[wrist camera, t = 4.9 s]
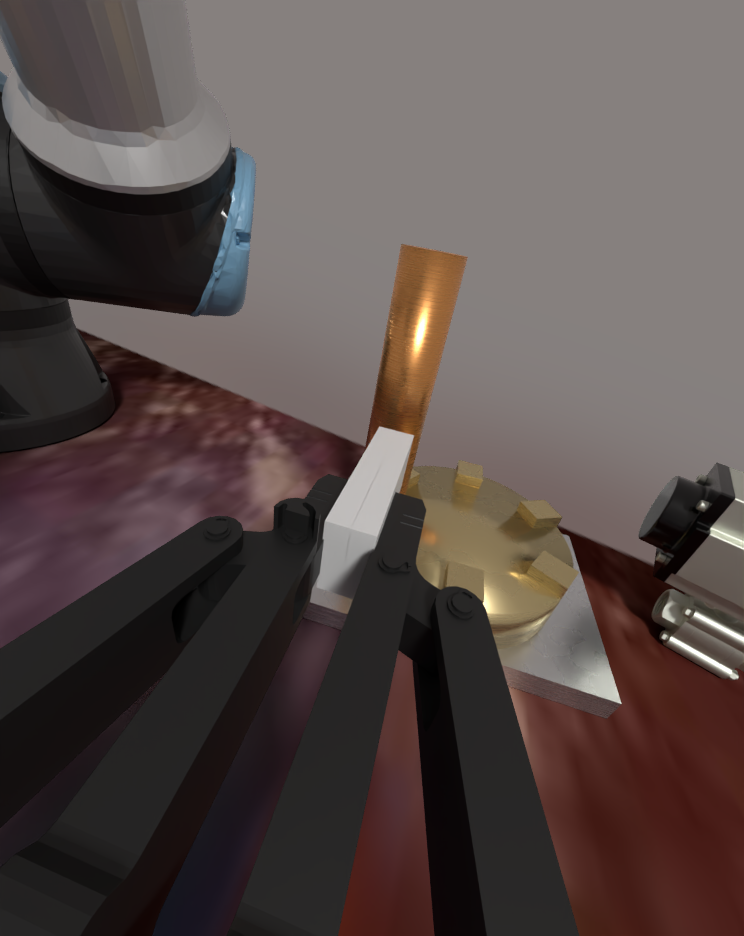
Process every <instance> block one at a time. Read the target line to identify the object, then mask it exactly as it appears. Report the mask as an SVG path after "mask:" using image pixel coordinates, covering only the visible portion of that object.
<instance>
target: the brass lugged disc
mask: <svg viewBox="0 0 744 936" xmlns="http://www.w3.org/2000/svg"><path fill="white" fill-rule="evenodd" d="M467 258H468V257H466V256H462V255H457V254H453V253H448V252H443V251H438V250H433V249H427V248H422V247H417V246H411V245H405V244H401V249H400V254H399V260H398V266H397V271H396V277H395V282H394V288H393V294H392V299H391V305H390V311H389V316H388V322H387V328H386V333H385V339H384V345H383V350H382V356H381V362H380V367H379V373H378V379H377V384H376V390H375V396H374V401H373V407H372V413H371V418H370V424H369V431H368V436H367V441H366V447H365V451H366V449H367V447H368V445H369V444H370V442H371V440H372V439H373V437H374V435H375V433H376V432H377V430H378V428H379V426H380V427H384V428H388V429H391V430H395V431H399V432H403V433H407V434H410V435H414V438H413V442H412V446H411V450H410V454H409V458H408V462H407V466H406V470H405V474H404V478H403V482H402V486H401V489H400V492H399V493H400V494H404V495H407V496H411V497H415V498H418V499H422V500H423V502H424V505H425V508H426V514H425V519H424V524H423V528H422V533H421V538H420V542H419V547H418V552H417V557H416V565H417V569H418V571H419V572H420V574H421V575H422V576H423V578H424V579H425V580H427V581H428V582H429V583H431V584H432V585H434V586H435V587H437V588H438V589H440V590H441V589H443V588H445V587H448V586H458V587H461V588H465V589H467V590H469V591H470V592H472V593H474V594H475V595H476V596H477V597H478V598H479V599H480V600H481V601H482V603H483V605H484V607H485V609H486V611H487V615H488V618H489V622H490V625H491V629H492V632H493V636H494V639H495V643H496V646H497V649H505V648H509V647H512V646H516V645H519V644H521V643H523V642H525V641H527V640H529V639H530V638H532V637H533V636H534V635H536V634H537V633H538V632H539V631H540V630H541V628H542V627H543V626H544V625H545V623H546V622H547V620H548V619H549V617H550V616H551V614H552V613H553V611H554V610H555V608H556V607H557V605H558V604H559V602H560V600H561V599H562V597H563V596H564V594H565V593H566V591H567V590H568V588H569V587H570V585H571V584H572V582H573V581H574V579H575V578H576V576H577V575H578V573H579V571H577V570H575V569H574V568H573V559H572V554H571V551H570V549H569V546H568V544H567V542H566V540H565V539H564V537H563V535H562V534H561V532H560V531H559V529H558V528H557V526H558V524H559V522H560V520H561V519H562V516H561V515H560V514H558V512H556V510H555V509H553V508H552V507H551V506H550V505H549V504H548V503H547V502H546V501H545V500H534V501H528V500H527V499H526V498H524V497H523V496H521V495H519V494H518V493H516V492H514V491H513V490H511V489H509V488H507V487H505V486H503V485H501V484H499V483H497V482H495V481H493V480H490V479H488V478H485V477H483V467H482V466H480V465H476V464H472V463H468V462H465V461H461V460H459V462H458V465H457V467H456V469H452V468H446V467H436V466H422V467H421V466H420V467H413V464H414V460H415V457H416V453H417V449H418V445H419V441H420V438H421V434H422V429H423V425H424V422H425V418H426V415H427V410H428V407H429V403H430V399H431V395H432V391H433V388H434V384H435V380H436V376H437V373H438V369H439V365H440V361H441V357H442V353H443V349H444V345H445V342H446V338H447V334H448V330H449V326H450V323H451V319H452V315H453V311H454V308H455V304H456V300H457V296H458V292H459V288H460V284H461V281H462V276H463V273H464V269H465V266H466V261H467Z"/></svg>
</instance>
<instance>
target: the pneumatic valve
mask: <svg viewBox="0 0 744 936" xmlns="http://www.w3.org/2000/svg"><path fill="white" fill-rule="evenodd" d="M639 539H641V540H643V541H645V542H647V543H649V544H651V545H654V546H655V547H657V549H656V557H655V564H654V571H653V576H654V577H656V578H658V579H660V580H662V581H664V582H666V583H667V584H669V585H671V586H673V587H675V588H677V589H679V590H681V591H683V592H685V593H686V594H685V595H684V594H682V593H680V592H678V591H676V590H674V589H669V590H666V591H665V592H663V593H662V594H661V596H660V597H659V598H658V600H657V602H656V603H655V605H654V608H653V610H652V619H653V621H654V622H656V623H658V624H659V625H661V626H663V627H665V631H662V632H661V633H660V636H659V639H660V640H662V641H663V645H665V646H667V647H668V648H670V649H672V650H673V651H675V652H677V653H679V654H680V655H682V656H684V657H686V658H687V659H689V660H691V661H692V662H694V663H696V664H698V665H699V666H701V667H703V668H705V669H706V670H708V671H710V672H712V673H713V674H715V675H717V676H718V677H720V678H722V679H726V678H728V679H730V680H737V679H738V678H739V675H738V673H737V671H736V670H734V669H735V668H738V669H740V670H742V671H744V472H741V471H738V470H736V469H733V468H730V467H727V466H725V465H722V464H719V463H716V464H715V465H714V467H713V468H712V469H711V471H710V472H709V473H708V475H707V476H704V475H699V476H698V477H697V479H696V481H695V482H693V481H690V480H688V479H685V478H683V477H680V476H676V477H674V478H673V479H672V480H671V481H670V482H669V483H668V484H667V485H666V486H665V488H664V489H663V490H662V491H661V493H660V494H659V496H658V497H657V499H656V500H655V502H654V503H653V505H652V506H651V508H650V510H649V512H648V513H647V515H646V517H645V519H644V521H643V524H642V525H641V528H640V531H639Z"/></svg>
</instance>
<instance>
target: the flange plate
mask: <svg viewBox="0 0 744 936" xmlns="http://www.w3.org/2000/svg"><path fill="white" fill-rule="evenodd" d="M350 477H351V476H350ZM350 477H349V478H350ZM348 480H349V479H348ZM562 535H563V537H564V539H565V540H566V542H567V544H568V546H569V549H570V551H571V554H572V559H573V568H574V569H575V570H577V571H579V573H578V575H577V576H576V578H575V579H574V581H573V582H572V584H571V585H570V587H569V588H568V590H567V591H566V593H565V594H564V596H563V597H562V599H561V600H560V602H559V604H558V605H557V607H556V608H555V610H554V611H553V613H552V614H551V616H550V617H549V619H548V620H547V622H546V623H545V625H544V626H543V627H542V628H541V630H540V631H539V632H538V633H537V634H536V635H534V636H533V637H532V638H530V639H529V640H527V641H525V642H523V643H521V644H519V645H516V646H512V647H509V648H505V649H497V650H498V653H499V657H500V660H501V664H502V667H503V671H504V674H505V678H506V681H507V685H508V686H510V687H513V688H516V689H519V690H522V691H525V692H528V693H531V694H534V695H537V696H540V697H543V698H546V699H549V700H552V701H555V702H558V703H561V704H564V705H567V706H570V707H573V708H576V709H579V710H582V711H585V712H588V713H591V714H594V715H597V716H600V717H603V718H606V719H607V718H608V717H609V716H610V715H611V714H612V713H613V712H614V711H615V710H616V709H617V708H618V707H619V706H620V705H621V701H620V698H619V694H618V691H617V688H616V685H615V682H614V678H613V675H612V672H611V669H610V666H609V662H608V659H607V656H606V653H605V650H604V646H603V643H602V640H601V637H600V634H599V630H598V627H597V624H596V621H595V618H594V614H593V611H592V608H591V605H590V602H589V598H588V595H587V592H586V589H585V586H584V582H583V579H582V576H581V573H580V570H579V566H578V563H577V560H576V557H575V553H574V550H573V547H572V544H571V541H570V537H569V536H567V535H564V534H562ZM317 579H318V578H317ZM352 601H353V599H351V598H348V597H345V596H342V595H338V594H335V593H332V592H329V591H326V590H323V589H320V588H317V580H316V582H315V584H314V586H313V588H312V594H311V599H310V603H309V605H308V607H307V609H306V611H305V613H304V615H303V618H306V619H309V620H312V621H315V622H318V623H321V624H324V625H327V626H330V627H333V628H336V629H339V630H342V628H343V625H344V622H345V620H346V617H347V614H348V612H349V609H350V606H351V603H352Z"/></svg>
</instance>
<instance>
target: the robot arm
mask: <svg viewBox="0 0 744 936" xmlns="http://www.w3.org/2000/svg"><path fill="white" fill-rule="evenodd" d="M0 39H1V41H2V43H3V45H4V47H5V49H6V51H7V53H8V55H9V57H10V59H11V61H12V64H13V68H12V70H11V72H10V74H9V76H8V77H7V76H6V75H4V74H3V73H2V72H0V452H4V451H12V450H20V449H26V448H32V447H37V446H42V445H46V444H50V443H54V442H58V441H62V440H65V439H68V438H71V437H74V436H77V435H79V434H82V433H84V432H87V431H89V430H91V429H93V428H95V427H97V426H98V425H100V424H101V423H103V422H104V421H106V420H107V419H108V418H109V417H110V416H111V415H112V413H113V412H114V409H115V400H114V396H113V391H112V386H111V383H110V381H109V379H108V378H107V376H106V375H105V373H104V372H103V371H102V369H101V367H100V366H99V364H98V362H97V360H96V359H95V357H94V355H93V354H92V352H91V350H90V349H89V347H88V346H87V344H86V342H85V341H84V339H83V338H82V336H81V334H80V333H79V331H78V330H77V328H76V326H75V324H74V321H73V318H72V315H71V311H70V307H69V303H68V299H74V300H84V301H91V302H98V303H106V304H113V305H120V306H128V307H135V308H142V309H150V310H158V311H165V312H172V313H179V314H187V315H190V316H194V317H195V316H199V315H213V316H231V315H234V314H236V313H237V312H239V310H240V309H241V308H242V306H243V304H244V300H245V294H246V285H247V275H248V264H249V251H250V239H251V227H252V217H253V206H254V192H255V176H256V175H255V174H256V164H255V161H254V159H253V157H251V156H250V155H249V154H247V153H244V152H243V151H242V150H241V149H240V148H238V147H236V148H233V147H232V148H231V139H230V130H229V125H228V121H227V117H226V114H225V112H224V110H223V108H222V107H221V105H220V103H219V102H218V101H217V99H216V98H215V97H214V95H213V94H212V93H211V92H210V91H209V90H208V89H207V88H206V87H205V86H204V85H203V84H202V83H201V82H200V80H199V79H198V78H197V77H196V71H195V64H194V57H193V50H192V43H191V37H190V30H189V22H188V16H187V9H186V3H185V0H0ZM413 438H414V435H410V434H407V433H403V432H399V431H395V430H391V429H388V428H384V427H380V426H379V428H378V430H377V432H376V433H375V435H374V437H373V439H372V440H371V442H370V444H369V445H368V447H367V449H366V451H365V452H364V454H363V456H362V458H361V459H360V461H359V463H358V464H357V466H356V468H355V470H354V471H353V473H352V475H351V477H350V478H349V480H347V479H344V478H340V477H337V476H333V475H330V474H328V475H326V476H324V477H322V478H320V479H319V480H318V481H317V482H316V483H315V485H314V486H313V488H312V490H310V492H309V493H308V495H307V497H305V499H301V498H290V499H286V500H283V501H280V502H279V503H278V504H276V505H275V506H274V529H273V530H272V531H267V532H252V531H243V528H242V525H241V523H240V522H238V521H237V520H236V519H234V518H231V517H228V516H215V517H210V518H207V519H205V520H203V521H200V522H199V523H197V524H196V525H194V526H193V527H191V528H189V529H188V530H186V531H185V532H183V533H182V534H180V535H178V536H177V537H175V538H174V539H172V540H171V541H169V542H167V543H166V544H164V545H163V546H161V547H160V548H158V549H156V550H155V551H153V552H152V553H150V554H148V555H147V556H145V557H144V558H142V559H141V560H139V561H137V562H136V563H134V564H133V565H131V566H130V567H128V568H126V569H125V570H123V571H122V572H120V573H119V574H117V575H115V576H114V577H112V578H111V579H109V580H108V581H106V582H104V583H103V584H101V585H100V586H98V587H97V588H95V589H93V590H92V591H90V592H89V593H87V594H86V595H84V596H82V597H81V598H79V599H78V600H76V601H75V602H73V603H71V604H70V605H68V606H67V607H65V608H64V609H62V610H60V611H59V612H57V613H56V614H54V615H53V616H51V617H49V618H48V619H46V620H45V621H43V622H41V623H40V624H38V625H37V626H35V627H34V628H32V629H30V630H29V631H27V632H26V633H24V634H23V635H21V636H19V637H18V638H16V639H15V640H13V641H12V642H10V643H8V644H7V645H5V646H4V647H2V648H1V649H0V828H1V827H2V826H3V825H4V824H5V823H6V822H7V821H8V820H9V819H10V818H11V817H12V816H13V815H15V814H16V813H17V812H18V811H19V810H20V809H21V808H22V807H23V806H24V805H25V804H26V803H27V802H28V801H29V800H31V799H32V798H33V797H34V796H35V795H36V794H37V793H38V792H39V791H40V790H41V789H42V788H43V787H44V786H45V785H47V784H48V783H49V782H50V781H51V780H52V779H53V778H54V777H55V776H56V775H57V774H58V773H59V772H60V771H61V770H63V769H64V768H65V767H66V766H67V765H68V764H69V763H70V762H71V761H72V760H73V759H74V758H75V757H76V756H77V755H79V754H80V753H81V752H82V751H83V750H84V749H85V748H86V747H87V746H88V745H89V744H90V743H91V742H92V741H93V740H95V739H96V738H97V737H98V736H99V735H100V734H101V733H102V732H103V731H104V730H105V729H106V728H107V727H108V726H109V725H111V724H112V723H113V722H114V721H115V720H116V719H117V718H118V717H119V716H120V715H121V714H122V713H123V712H124V711H125V710H126V709H128V708H129V707H130V706H131V705H132V704H133V703H134V702H135V701H136V700H137V699H138V698H139V697H140V696H141V695H142V694H144V693H145V692H146V691H147V690H148V689H149V688H150V687H151V686H152V685H153V684H154V683H155V682H156V681H157V680H158V679H160V678H161V677H162V676H163V675H164V674H165V673H166V672H167V673H166V674H165V675H164V677H163V678H162V679H161V681H160V682H159V684H158V685H157V686H156V688H155V689H154V690H153V692H152V693H151V694H150V696H149V697H148V698H147V700H146V701H145V702H144V704H143V705H142V706H141V708H140V709H139V710H138V712H137V713H136V715H135V716H134V717H133V719H132V720H131V721H130V723H129V724H128V725H127V727H126V728H125V729H124V731H123V732H122V733H121V735H120V736H119V737H118V739H117V740H116V741H115V743H114V744H113V745H112V747H111V748H110V750H109V751H108V752H107V754H106V755H105V756H104V758H103V759H102V760H101V762H100V763H99V764H98V766H97V767H96V768H95V770H94V771H93V772H92V774H91V775H90V776H89V778H88V779H87V781H86V782H85V783H84V785H83V786H82V787H81V789H80V790H79V791H78V793H77V794H76V795H75V797H74V798H73V799H72V801H71V802H70V803H69V805H68V806H67V807H66V809H65V810H64V812H63V813H62V814H61V816H60V817H59V818H58V820H57V821H56V822H55V823H54V824H53V826H52V827H51V828H50V829H49V830H48V832H47V833H45V834H44V835H43V836H42V837H41V838H40V839H39V840H38V841H36V842H35V843H33V844H31V845H30V846H28V847H26V848H25V849H23V850H21V851H20V852H18V853H16V854H15V855H14V856H13V857H12V858H10V859H9V860H8V861H7V862H6V863H5V864H4V865H3V866H2V867H1V868H0V936H152V934H153V931H154V927H155V924H156V921H157V918H158V916H159V913H160V911H161V909H162V906H163V904H164V902H165V900H166V898H167V896H168V894H169V892H170V890H171V887H172V885H173V883H174V881H175V879H176V877H177V875H178V873H179V871H180V869H181V867H182V865H183V863H184V861H185V859H186V857H187V854H188V852H189V850H190V848H191V846H192V844H193V842H194V840H195V838H196V836H197V834H198V832H199V830H200V828H201V826H202V823H203V821H204V819H205V817H206V815H207V813H208V811H209V809H210V807H211V805H212V803H213V801H214V799H215V797H216V795H217V792H218V790H219V788H220V786H221V784H222V782H223V780H224V778H225V776H226V774H227V772H228V770H229V768H230V766H231V764H232V762H233V759H234V757H235V755H236V753H237V751H238V749H239V747H240V745H241V743H242V741H243V739H244V737H245V735H246V733H247V731H248V728H249V726H250V724H251V722H252V720H253V718H254V716H255V714H256V712H257V710H258V708H259V706H260V704H261V702H262V700H263V698H264V695H265V693H266V691H267V689H268V687H269V685H270V683H271V681H272V679H273V677H274V675H275V673H276V671H277V669H278V667H279V664H280V662H281V660H282V658H283V656H284V654H285V652H286V650H287V648H288V646H289V644H290V642H291V640H292V638H293V636H294V633H295V631H296V629H297V627H298V625H299V623H300V621H301V619H302V617H303V615H304V613H305V611H306V609H307V607H308V605H309V603H310V599H311V594H312V588H313V586H314V584H315V582H316V580H317V588H320V589H323V590H326V591H329V592H332V593H335V594H338V595H342V596H345V597H348V598H351V599H353V601H352V603H351V606H350V609H349V612H348V614H347V617H346V620H345V622H344V625H343V628H342V630H341V633H340V636H339V638H338V641H337V644H336V646H335V649H334V652H333V655H332V657H331V660H330V663H329V665H328V668H327V671H326V673H325V676H324V679H323V681H322V684H321V687H320V690H319V692H318V695H317V698H316V700H315V703H314V706H313V708H312V711H311V714H310V716H309V719H308V722H307V725H306V727H305V730H304V733H303V735H302V738H301V741H300V743H299V746H298V749H297V751H296V754H295V757H294V759H293V762H292V765H291V768H290V770H289V773H288V776H287V778H286V781H285V784H284V786H283V789H282V792H281V794H280V797H279V800H278V803H277V805H276V808H275V811H274V813H273V816H272V819H271V821H270V824H269V827H268V829H267V832H266V835H265V838H264V840H263V843H262V846H261V848H260V851H259V854H258V856H257V859H256V862H255V864H254V867H253V870H252V872H251V875H250V878H249V881H248V883H247V886H246V889H245V891H244V894H243V897H242V899H241V902H240V905H239V907H238V910H237V912H236V915H235V917H234V920H233V922H232V924H231V927H230V929H229V931H228V933H227V935H226V936H338V932H339V927H340V923H341V918H342V913H343V909H344V904H345V899H346V894H347V890H348V885H349V880H350V875H351V871H352V866H353V861H354V857H355V852H356V847H357V842H358V838H359V833H360V828H361V823H362V819H363V814H364V809H365V804H366V800H367V795H368V790H369V786H370V781H371V776H372V771H373V767H374V762H375V757H376V752H377V748H378V743H379V738H380V734H381V729H382V724H383V719H384V715H385V710H386V705H387V700H388V696H389V691H390V686H391V682H392V677H393V672H394V667H395V663H396V658H397V653H398V650H399V651H401V652H402V653H403V654H405V655H406V656H407V657H409V658H410V659H412V660H413V674H414V687H415V699H416V711H417V724H418V736H419V749H420V761H421V773H422V786H423V798H424V810H425V823H426V835H427V848H428V860H429V872H430V885H431V897H432V909H433V922H434V934H435V936H579V933H578V930H577V926H576V923H575V919H574V916H573V912H572V909H571V905H570V902H569V898H568V895H567V891H566V888H565V884H564V881H563V877H562V874H561V870H560V867H559V863H558V860H557V856H556V853H555V849H554V846H553V842H552V839H551V835H550V832H549V828H548V825H547V821H546V818H545V814H544V811H543V807H542V804H541V800H540V797H539V793H538V790H537V786H536V783H535V779H534V776H533V772H532V769H531V765H530V762H529V758H528V755H527V751H526V748H525V744H524V741H523V737H522V734H521V730H520V727H519V723H518V720H517V716H516V713H515V709H514V706H513V702H512V699H511V695H510V692H509V688H508V685H507V681H506V678H505V674H504V671H503V667H502V664H501V660H500V657H499V653H498V650H497V646H496V643H495V639H494V636H493V632H492V629H491V625H490V622H489V618H488V615H487V611H486V609H485V607H484V605H483V603H482V601H481V600H480V599H479V598H478V597H477V596H476V595H475V594H474V593H472V592H470V591H469V590H467V589H465V588H461V587H458V586H448V587H445V588H443V589H441V590H440V589H438V588H437V587H435V586H434V585H432V584H431V583H429V582H428V581H427V580H425V579H424V578H423V576H422V575H421V574H420V572H419V571H418V569H417V565H416V557H417V552H418V547H419V542H420V538H421V533H422V528H423V524H424V519H425V514H426V508H425V505H424V502H423V500H422V499H418V498H415V497H411V496H407V495H404V494H400V493H399V492H400V489H401V486H402V482H403V478H404V474H405V470H406V466H407V462H408V458H409V454H410V450H411V446H412V442H413ZM317 578H318V579H317Z"/></svg>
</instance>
